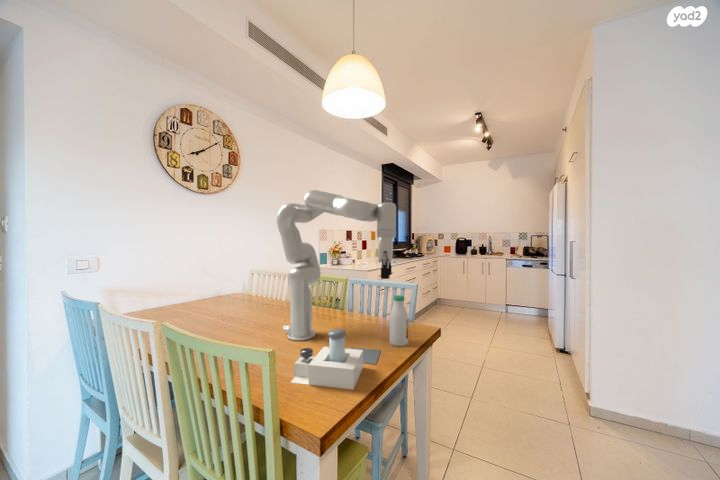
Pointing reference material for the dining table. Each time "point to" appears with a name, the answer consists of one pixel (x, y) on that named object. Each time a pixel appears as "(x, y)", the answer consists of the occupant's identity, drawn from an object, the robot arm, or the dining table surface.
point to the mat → (369, 355)
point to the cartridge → (337, 345)
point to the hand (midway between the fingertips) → (386, 276)
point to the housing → (329, 370)
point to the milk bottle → (398, 322)
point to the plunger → (306, 354)
